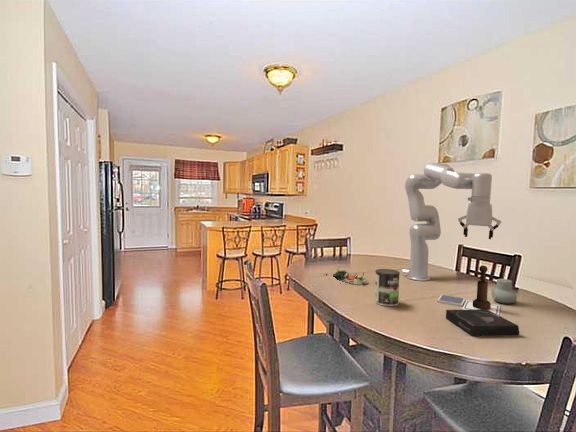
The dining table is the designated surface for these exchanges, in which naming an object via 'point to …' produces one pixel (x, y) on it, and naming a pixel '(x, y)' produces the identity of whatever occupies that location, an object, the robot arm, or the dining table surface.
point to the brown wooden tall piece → (482, 291)
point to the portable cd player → (482, 323)
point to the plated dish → (350, 278)
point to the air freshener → (504, 292)
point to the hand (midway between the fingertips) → (477, 237)
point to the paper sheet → (469, 306)
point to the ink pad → (451, 300)
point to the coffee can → (387, 287)
